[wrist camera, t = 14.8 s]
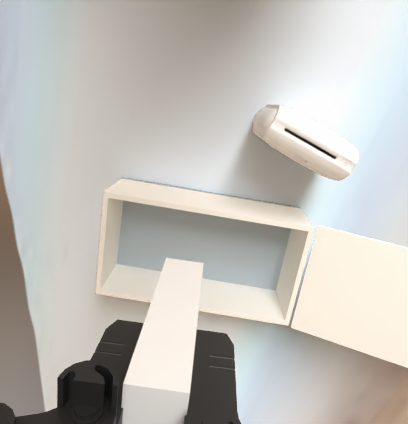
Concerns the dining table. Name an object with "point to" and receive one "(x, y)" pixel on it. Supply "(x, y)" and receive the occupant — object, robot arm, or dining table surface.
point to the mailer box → (203, 247)
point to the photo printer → (305, 141)
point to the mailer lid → (356, 294)
